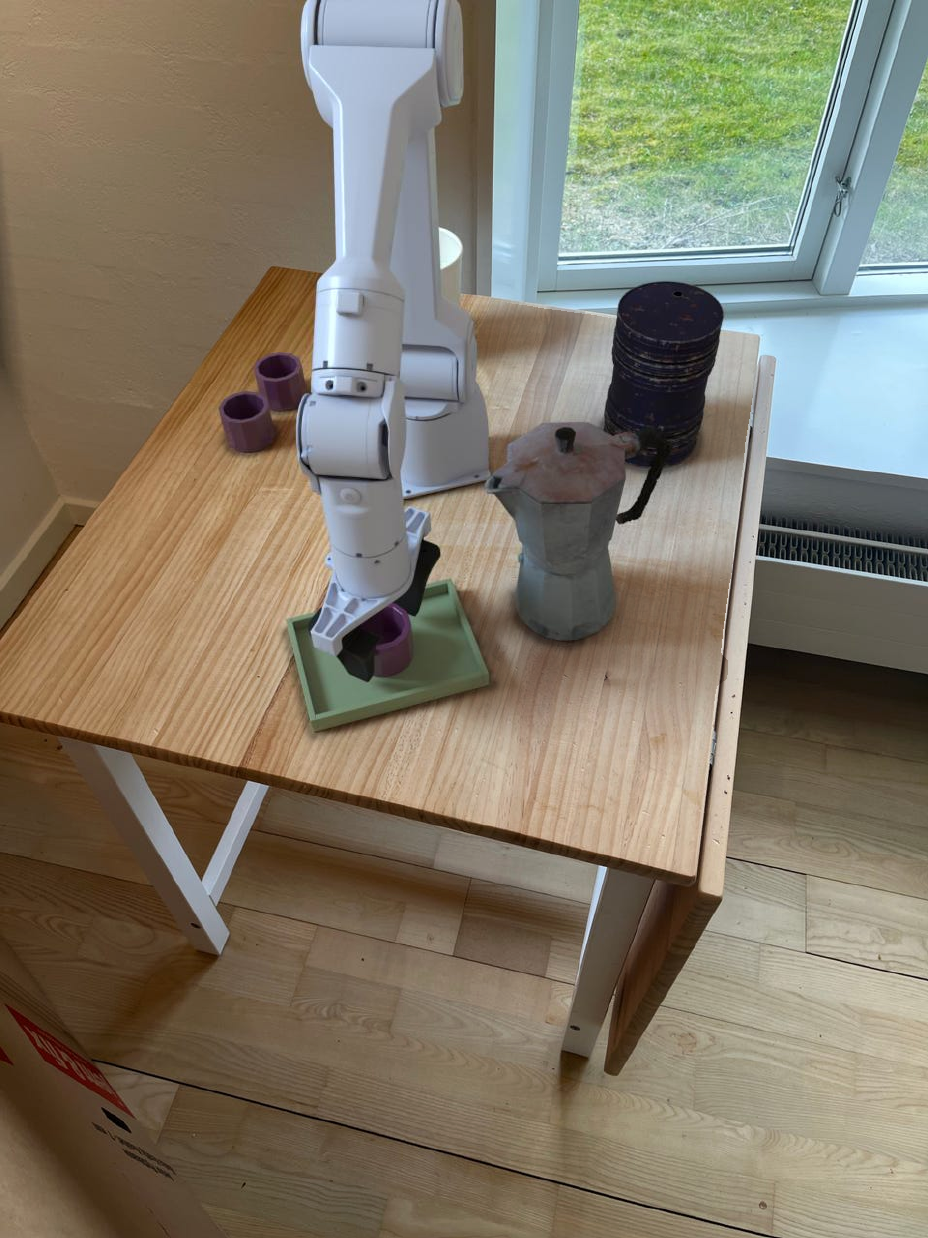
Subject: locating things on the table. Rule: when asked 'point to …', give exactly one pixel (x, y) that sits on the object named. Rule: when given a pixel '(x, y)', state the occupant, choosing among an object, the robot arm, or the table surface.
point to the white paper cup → (450, 265)
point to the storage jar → (662, 364)
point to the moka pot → (570, 519)
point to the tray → (434, 672)
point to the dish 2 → (391, 640)
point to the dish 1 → (247, 421)
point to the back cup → (280, 380)
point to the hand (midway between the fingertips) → (384, 641)
